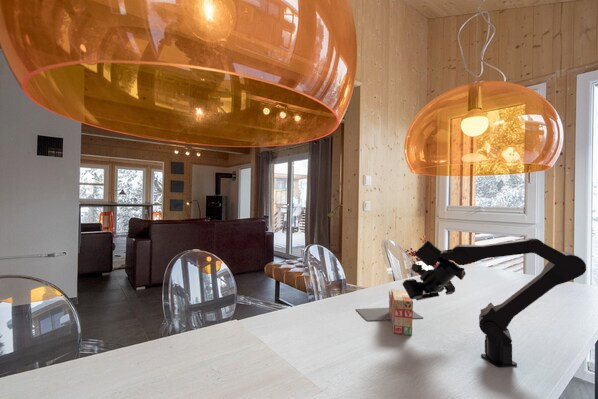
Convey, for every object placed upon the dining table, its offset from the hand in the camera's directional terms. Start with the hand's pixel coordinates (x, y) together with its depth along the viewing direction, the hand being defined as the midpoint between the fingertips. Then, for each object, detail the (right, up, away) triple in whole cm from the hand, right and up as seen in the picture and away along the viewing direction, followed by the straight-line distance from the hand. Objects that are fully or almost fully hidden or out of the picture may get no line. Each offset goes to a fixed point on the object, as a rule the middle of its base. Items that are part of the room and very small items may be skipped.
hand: (416, 299), depth 105 cm
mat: (-5, -12, +18) cm, 22 cm away
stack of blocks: (-4, -12, +8) cm, 15 cm away
